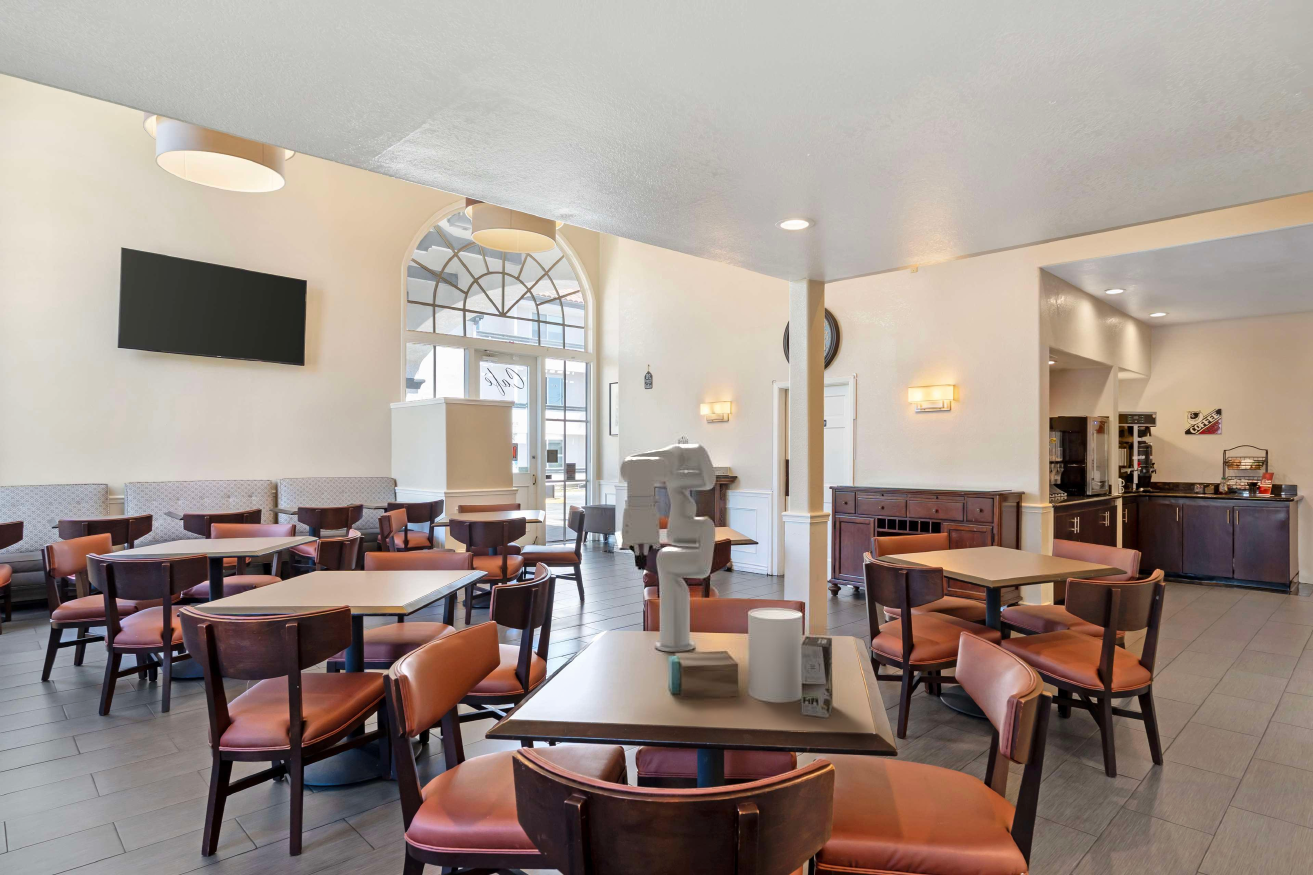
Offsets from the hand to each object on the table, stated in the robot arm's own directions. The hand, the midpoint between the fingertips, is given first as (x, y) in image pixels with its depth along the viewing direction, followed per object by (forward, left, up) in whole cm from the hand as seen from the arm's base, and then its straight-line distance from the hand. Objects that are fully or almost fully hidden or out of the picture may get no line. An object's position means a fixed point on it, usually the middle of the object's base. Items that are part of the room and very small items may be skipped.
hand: (641, 569), depth 189 cm
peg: (+14, +13, -29) cm, 34 cm away
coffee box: (+32, +38, -29) cm, 58 cm away
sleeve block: (+14, +15, -29) cm, 36 cm away
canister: (+19, +32, -29) cm, 47 cm away
